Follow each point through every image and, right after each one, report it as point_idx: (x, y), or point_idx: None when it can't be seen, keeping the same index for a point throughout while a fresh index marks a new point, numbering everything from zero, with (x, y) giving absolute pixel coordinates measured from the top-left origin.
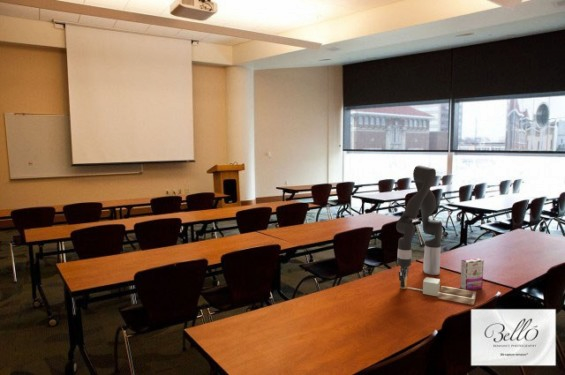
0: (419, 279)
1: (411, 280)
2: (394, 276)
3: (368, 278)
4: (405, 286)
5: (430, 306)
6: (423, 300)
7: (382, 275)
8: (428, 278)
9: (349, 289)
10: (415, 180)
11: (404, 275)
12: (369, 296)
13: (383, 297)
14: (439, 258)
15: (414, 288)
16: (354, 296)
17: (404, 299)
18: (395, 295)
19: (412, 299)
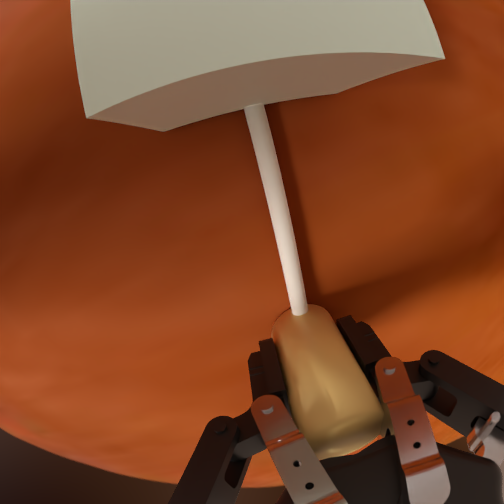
0: (9, 313)
1: (73, 354)
2: (128, 443)
3: (278, 481)
4: (324, 318)
5: (482, 15)
6: (452, 59)
7: (179, 473)
8: (154, 8)
9: (443, 428)
10: None
11: (330, 440)
12: (495, 350)
13: (500, 306)
14: None
15: (288, 225)
16: (497, 375)
17: (499, 196)
18: (470, 278)
19: (482, 144)
